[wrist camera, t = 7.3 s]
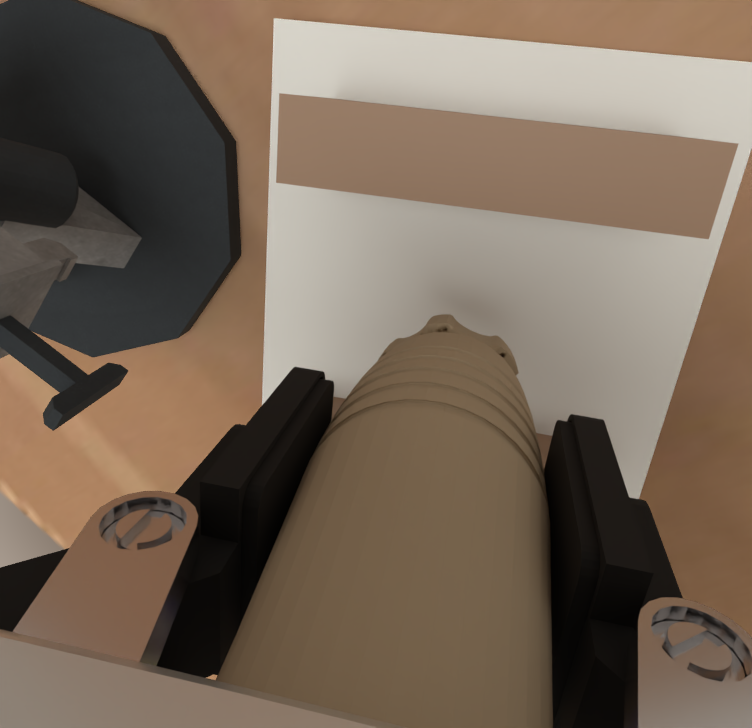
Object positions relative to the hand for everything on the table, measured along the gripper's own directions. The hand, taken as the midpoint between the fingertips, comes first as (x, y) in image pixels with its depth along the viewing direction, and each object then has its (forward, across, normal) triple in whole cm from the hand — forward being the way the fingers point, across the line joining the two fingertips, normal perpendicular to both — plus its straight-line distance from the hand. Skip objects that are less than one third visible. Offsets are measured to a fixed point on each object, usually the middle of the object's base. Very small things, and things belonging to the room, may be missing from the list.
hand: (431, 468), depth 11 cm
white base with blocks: (+11, 0, 0) cm, 11 cm away
